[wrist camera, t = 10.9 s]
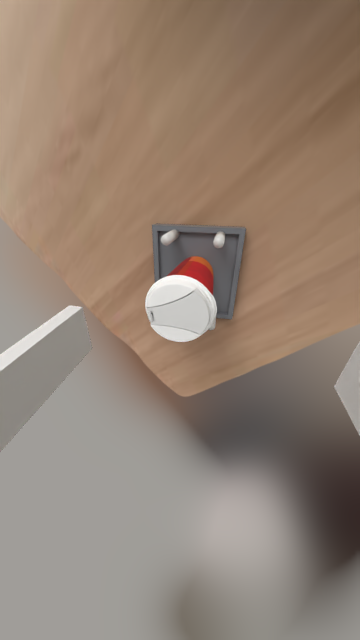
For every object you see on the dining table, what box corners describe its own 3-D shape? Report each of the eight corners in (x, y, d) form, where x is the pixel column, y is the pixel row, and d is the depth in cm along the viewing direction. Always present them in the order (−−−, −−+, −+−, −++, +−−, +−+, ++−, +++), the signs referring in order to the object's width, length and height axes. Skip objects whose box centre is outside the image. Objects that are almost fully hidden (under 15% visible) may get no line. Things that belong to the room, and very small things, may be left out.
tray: (156, 223, 35) (140, 229, 29) (245, 226, 33) (248, 233, 27) (159, 306, 42) (147, 325, 36) (231, 314, 40) (232, 335, 34)
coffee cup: (176, 298, 39) (150, 346, 27) (167, 252, 36) (132, 283, 23) (223, 294, 37) (219, 345, 25) (219, 245, 34) (212, 275, 21)
